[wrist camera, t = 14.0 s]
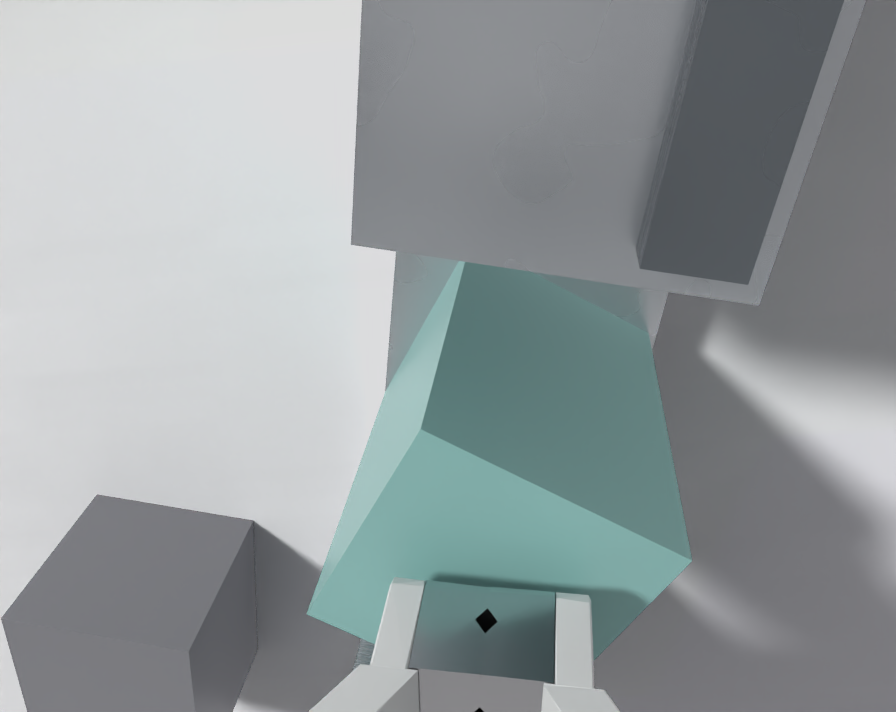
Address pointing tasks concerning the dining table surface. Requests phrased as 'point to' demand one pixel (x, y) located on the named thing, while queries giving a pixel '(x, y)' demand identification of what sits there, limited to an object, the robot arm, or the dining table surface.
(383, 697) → the robot arm
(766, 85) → the grey u-shaped cradle
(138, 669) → the block
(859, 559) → the dining table surface
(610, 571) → the block
